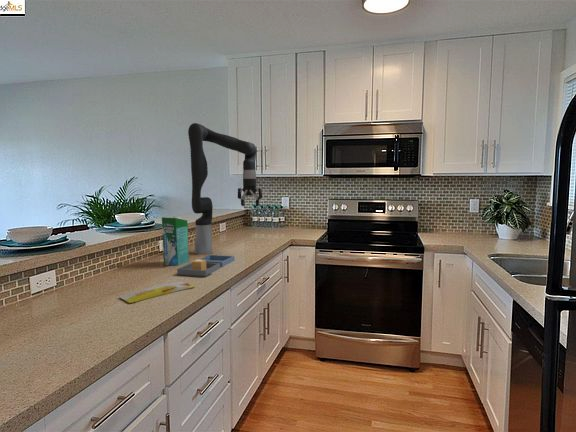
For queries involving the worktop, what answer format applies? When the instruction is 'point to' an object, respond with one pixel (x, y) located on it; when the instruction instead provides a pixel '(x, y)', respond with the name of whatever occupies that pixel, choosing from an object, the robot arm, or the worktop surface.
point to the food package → (156, 291)
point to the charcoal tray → (189, 271)
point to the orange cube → (199, 264)
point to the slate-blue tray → (219, 259)
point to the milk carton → (175, 241)
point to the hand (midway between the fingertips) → (250, 206)
